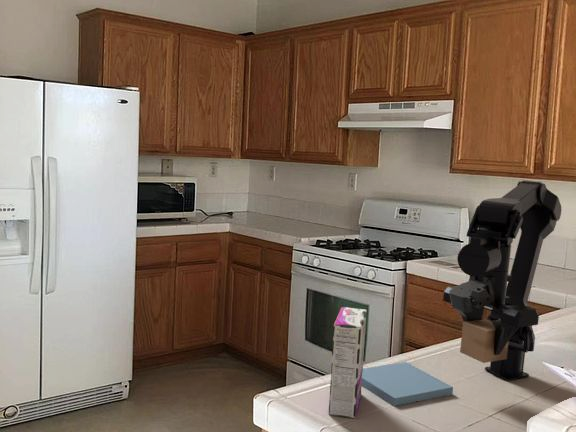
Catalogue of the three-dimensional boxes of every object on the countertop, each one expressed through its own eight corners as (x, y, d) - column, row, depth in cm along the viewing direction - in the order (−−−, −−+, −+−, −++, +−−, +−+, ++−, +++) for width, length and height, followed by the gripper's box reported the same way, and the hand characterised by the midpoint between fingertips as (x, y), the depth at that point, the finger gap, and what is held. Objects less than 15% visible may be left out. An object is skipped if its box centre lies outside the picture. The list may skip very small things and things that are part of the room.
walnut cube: (482, 348, 125) (485, 319, 124) (506, 359, 119) (510, 328, 119) (460, 352, 122) (463, 321, 121) (483, 362, 117) (486, 331, 116)
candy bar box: (334, 390, 120) (341, 305, 117) (361, 394, 119) (368, 308, 117) (326, 415, 109) (332, 322, 107) (355, 420, 108) (362, 326, 106)
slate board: (405, 368, 133) (405, 361, 133) (452, 394, 121) (453, 387, 121) (349, 377, 126) (350, 370, 126) (394, 406, 114) (394, 398, 114)
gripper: (425, 260, 122) (418, 338, 125) (500, 283, 106) (490, 372, 108) (468, 257, 128) (460, 332, 130) (545, 279, 112) (535, 364, 114)
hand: (483, 349), depth 120 cm, fingers closed on walnut cube, 6 cm apart
